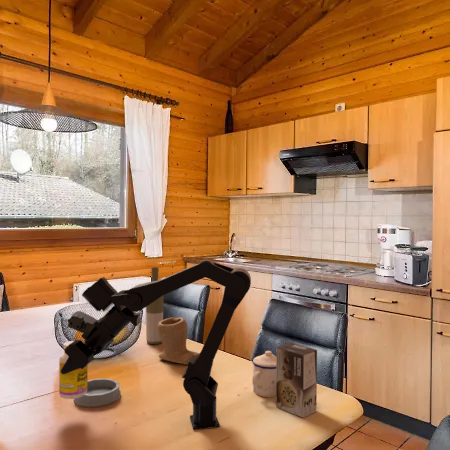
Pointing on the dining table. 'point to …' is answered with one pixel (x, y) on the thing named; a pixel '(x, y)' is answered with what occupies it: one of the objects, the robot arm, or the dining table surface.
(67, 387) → the supplement bottle
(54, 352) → the dining table surface
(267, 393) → the teacup with lid
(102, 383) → the round bowl
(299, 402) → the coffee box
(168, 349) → the tan boot-shaped piece
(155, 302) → the bottle
